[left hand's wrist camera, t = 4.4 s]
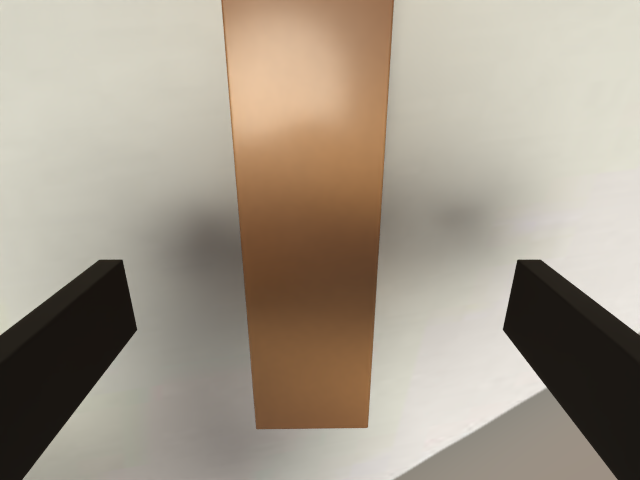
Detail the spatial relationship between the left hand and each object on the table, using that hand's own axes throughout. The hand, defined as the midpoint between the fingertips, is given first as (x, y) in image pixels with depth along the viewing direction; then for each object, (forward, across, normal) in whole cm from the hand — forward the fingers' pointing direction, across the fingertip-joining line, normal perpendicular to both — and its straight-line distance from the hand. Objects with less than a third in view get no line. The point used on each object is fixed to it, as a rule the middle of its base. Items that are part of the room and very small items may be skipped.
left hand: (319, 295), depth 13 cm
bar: (+9, 0, -21) cm, 23 cm away
